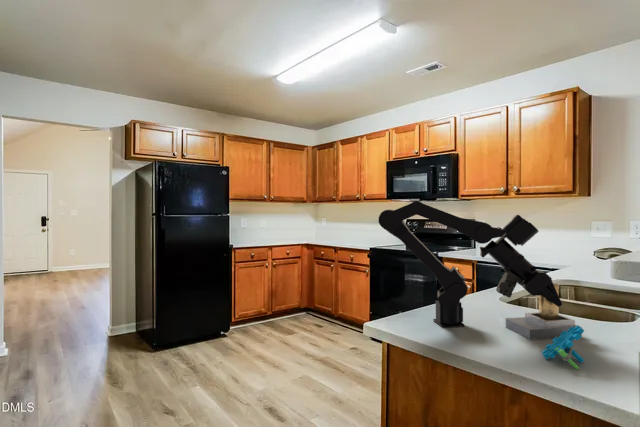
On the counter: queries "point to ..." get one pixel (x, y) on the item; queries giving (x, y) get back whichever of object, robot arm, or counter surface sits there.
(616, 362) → the counter surface
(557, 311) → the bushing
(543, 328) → the jig
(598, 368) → the counter surface
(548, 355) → the blue green toy
